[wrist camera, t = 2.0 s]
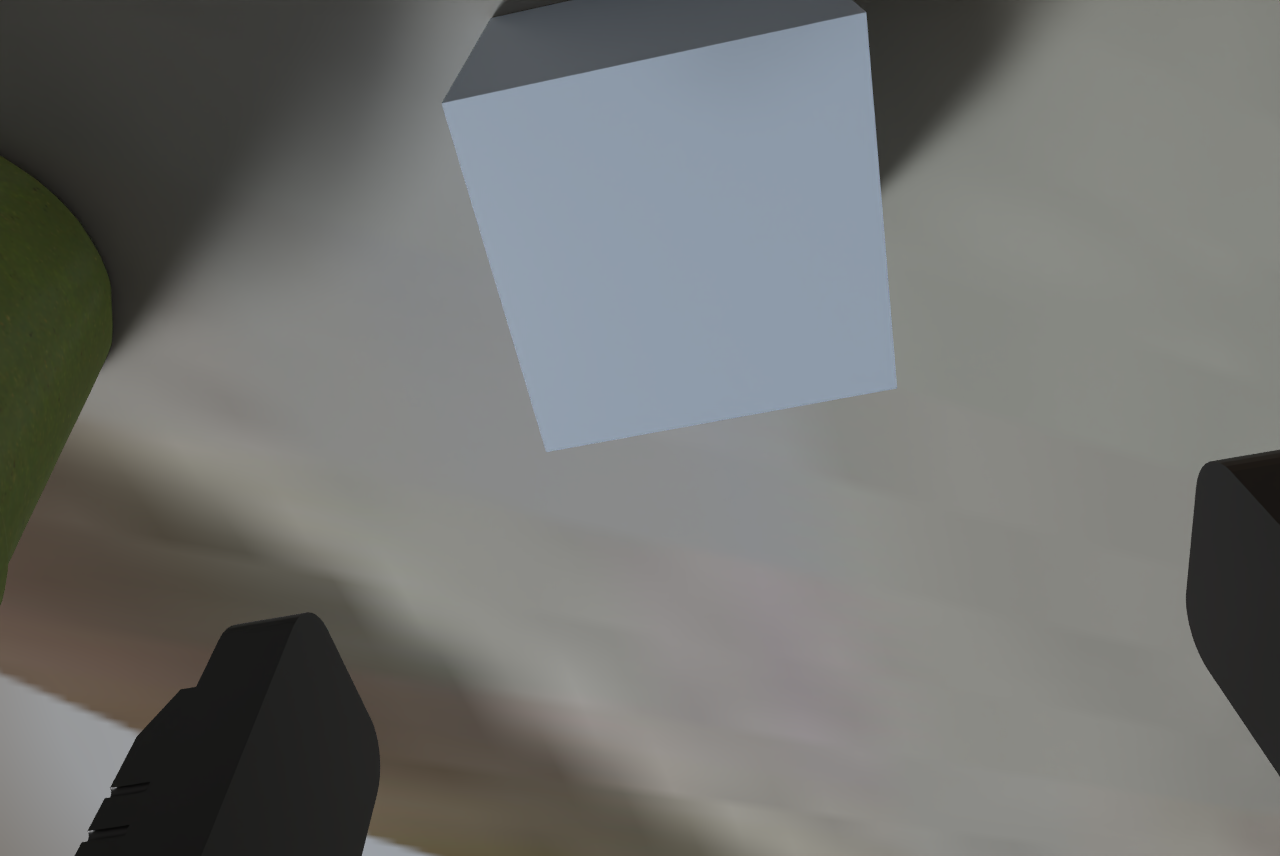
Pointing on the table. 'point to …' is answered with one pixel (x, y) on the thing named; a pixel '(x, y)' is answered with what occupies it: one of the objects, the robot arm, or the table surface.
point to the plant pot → (43, 341)
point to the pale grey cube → (679, 208)
